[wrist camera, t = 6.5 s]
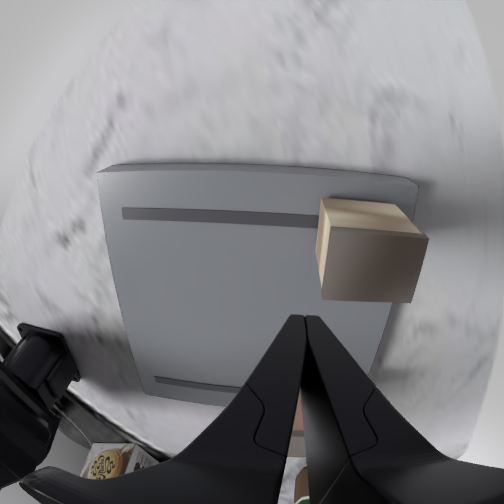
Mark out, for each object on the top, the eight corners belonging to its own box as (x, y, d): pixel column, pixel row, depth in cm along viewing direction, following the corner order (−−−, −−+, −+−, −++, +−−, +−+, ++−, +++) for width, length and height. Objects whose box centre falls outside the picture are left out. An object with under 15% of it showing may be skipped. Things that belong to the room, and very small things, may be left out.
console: (151, 378, 27) (144, 394, 25) (112, 165, 19) (96, 173, 17) (350, 394, 26) (353, 413, 24) (406, 177, 17) (419, 186, 15)
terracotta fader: (283, 409, 24) (281, 456, 20) (287, 385, 22) (285, 436, 18) (333, 410, 23) (337, 457, 19) (341, 386, 22) (348, 436, 18)
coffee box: (120, 463, 39) (90, 546, 24) (92, 441, 36) (55, 528, 22) (164, 465, 36) (137, 561, 22) (135, 442, 34) (98, 546, 20)
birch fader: (314, 252, 17) (321, 300, 13) (320, 196, 16) (332, 231, 12) (385, 256, 17) (411, 302, 13) (395, 203, 16) (428, 238, 12)
